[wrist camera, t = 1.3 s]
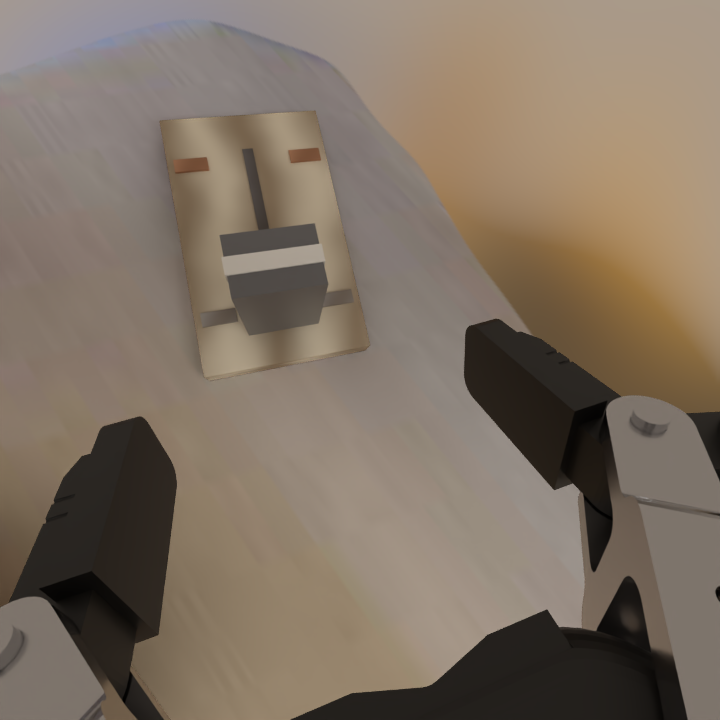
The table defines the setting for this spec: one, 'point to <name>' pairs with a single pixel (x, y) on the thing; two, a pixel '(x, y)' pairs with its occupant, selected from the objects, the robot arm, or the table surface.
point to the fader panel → (257, 212)
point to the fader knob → (275, 277)
